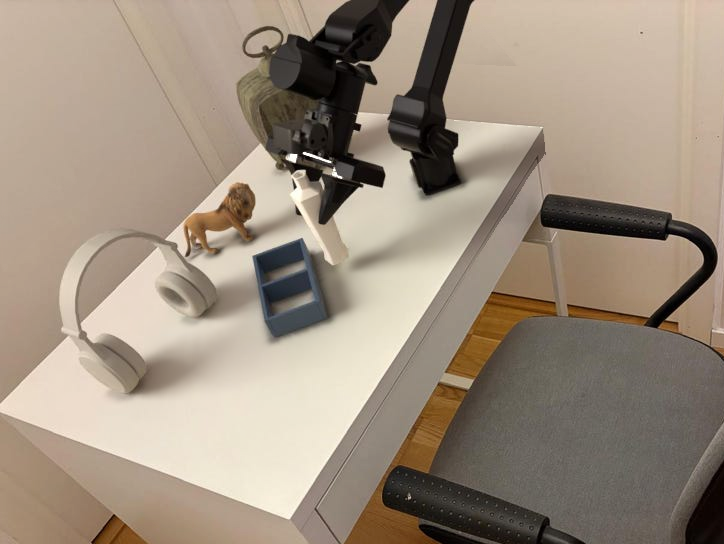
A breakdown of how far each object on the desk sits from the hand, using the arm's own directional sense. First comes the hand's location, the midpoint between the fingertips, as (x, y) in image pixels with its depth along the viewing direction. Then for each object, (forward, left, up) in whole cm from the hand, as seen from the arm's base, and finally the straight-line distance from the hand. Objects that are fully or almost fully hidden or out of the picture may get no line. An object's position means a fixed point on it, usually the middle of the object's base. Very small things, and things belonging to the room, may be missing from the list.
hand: (310, 219), depth 105 cm
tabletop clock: (-2, -32, -11) cm, 34 cm away
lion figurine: (+15, -18, -11) cm, 26 cm away
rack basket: (+7, +1, -11) cm, 13 cm away
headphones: (+27, +2, -11) cm, 29 cm away
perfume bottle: (-1, -1, -8) cm, 9 cm away
